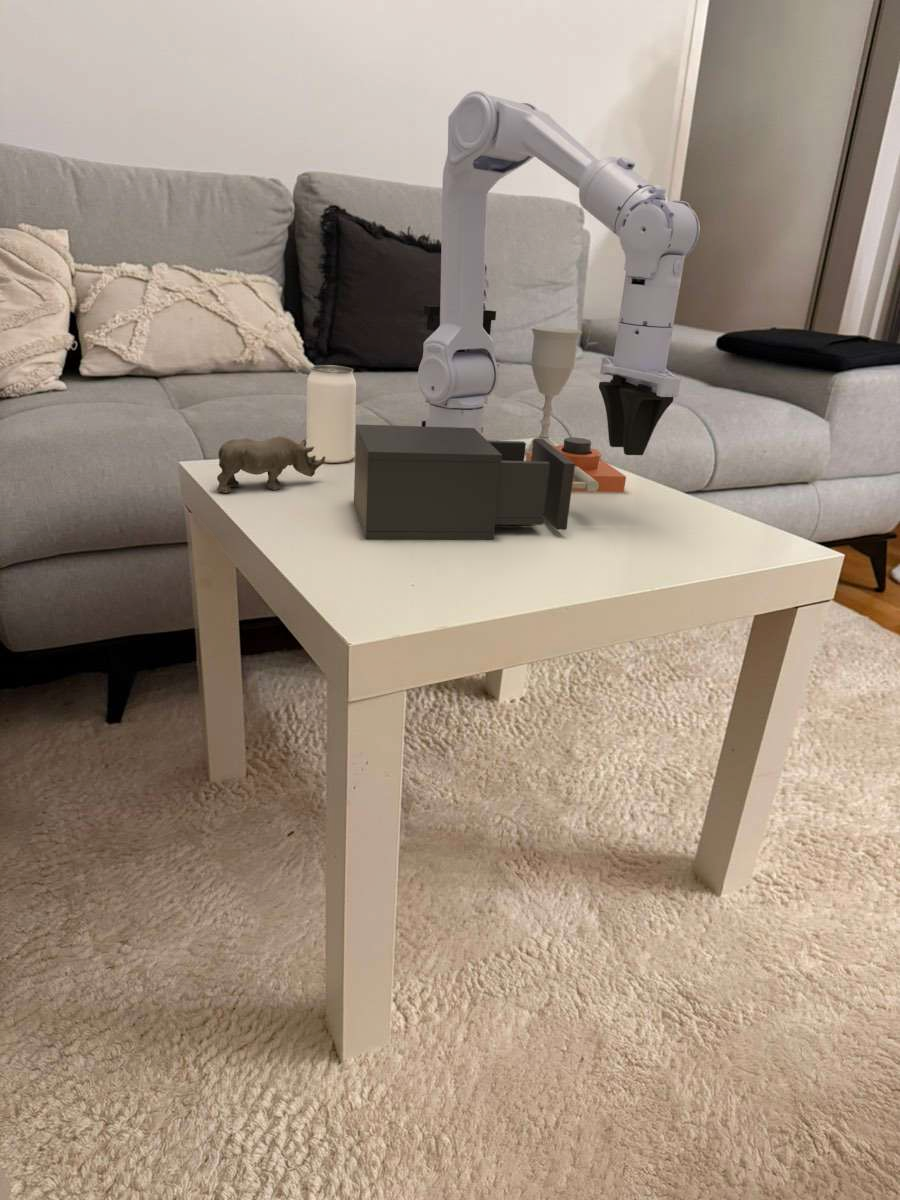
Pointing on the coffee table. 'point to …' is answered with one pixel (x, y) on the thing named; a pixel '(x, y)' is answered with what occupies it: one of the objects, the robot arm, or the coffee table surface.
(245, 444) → the rhino figurine
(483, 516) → the cabinet
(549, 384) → the chalice
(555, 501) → the drawer
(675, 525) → the coffee table surface
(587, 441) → the button
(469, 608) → the coffee table surface
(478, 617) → the coffee table surface
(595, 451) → the control block
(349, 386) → the can
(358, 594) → the coffee table surface
